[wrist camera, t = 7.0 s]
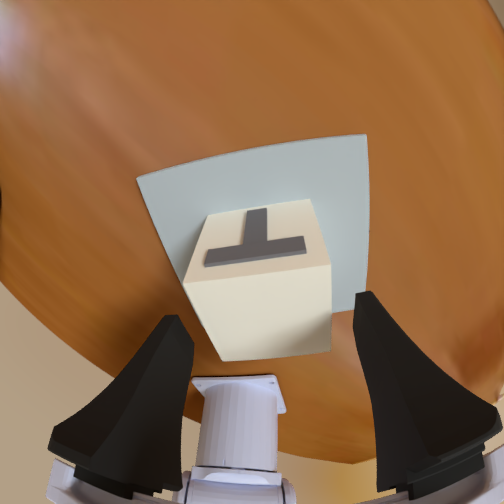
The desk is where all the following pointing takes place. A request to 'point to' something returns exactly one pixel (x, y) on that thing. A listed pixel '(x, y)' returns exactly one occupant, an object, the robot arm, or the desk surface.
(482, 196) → the desk surface
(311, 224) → the letter block
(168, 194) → the slate mat
